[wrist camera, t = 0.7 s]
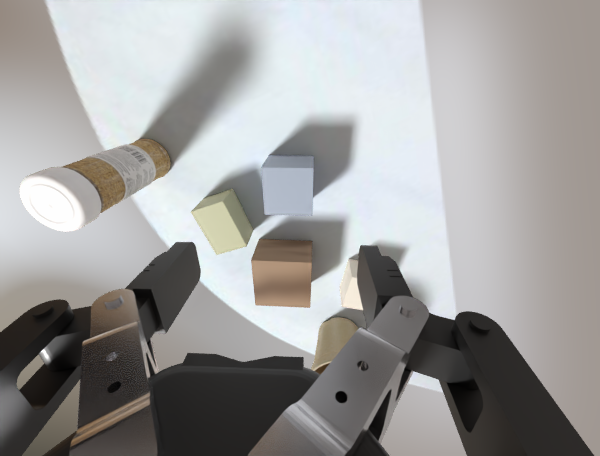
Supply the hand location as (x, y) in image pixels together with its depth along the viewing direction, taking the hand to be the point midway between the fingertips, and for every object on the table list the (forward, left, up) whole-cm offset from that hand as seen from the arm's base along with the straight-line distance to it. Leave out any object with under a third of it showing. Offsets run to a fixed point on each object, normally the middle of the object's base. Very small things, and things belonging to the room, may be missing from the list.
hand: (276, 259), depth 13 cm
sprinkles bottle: (0, -17, -19) cm, 26 cm away
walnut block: (+14, -2, -19) cm, 24 cm away
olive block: (+7, -9, -19) cm, 22 cm away
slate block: (+2, -1, -19) cm, 19 cm away
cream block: (+16, +8, -19) cm, 26 cm away
